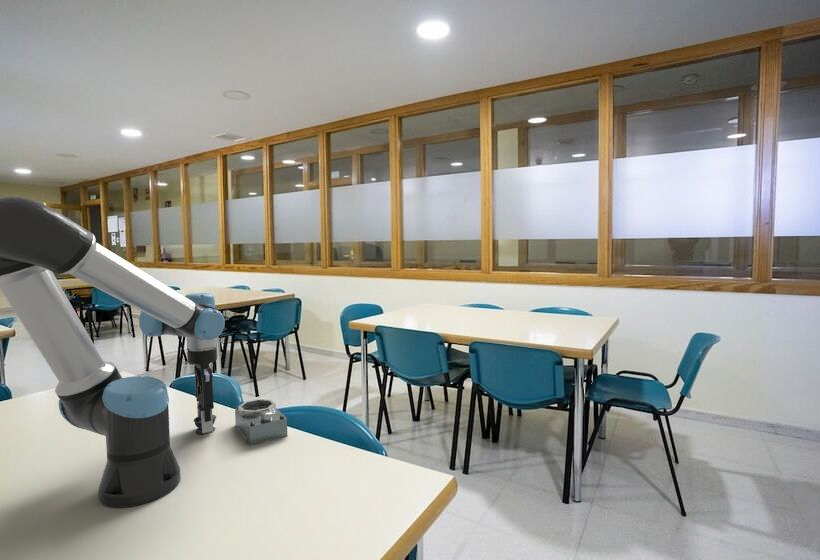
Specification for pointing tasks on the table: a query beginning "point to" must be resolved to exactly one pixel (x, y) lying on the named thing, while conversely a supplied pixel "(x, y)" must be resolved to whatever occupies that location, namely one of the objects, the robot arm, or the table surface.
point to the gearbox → (260, 421)
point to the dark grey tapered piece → (199, 421)
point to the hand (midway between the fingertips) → (205, 427)
